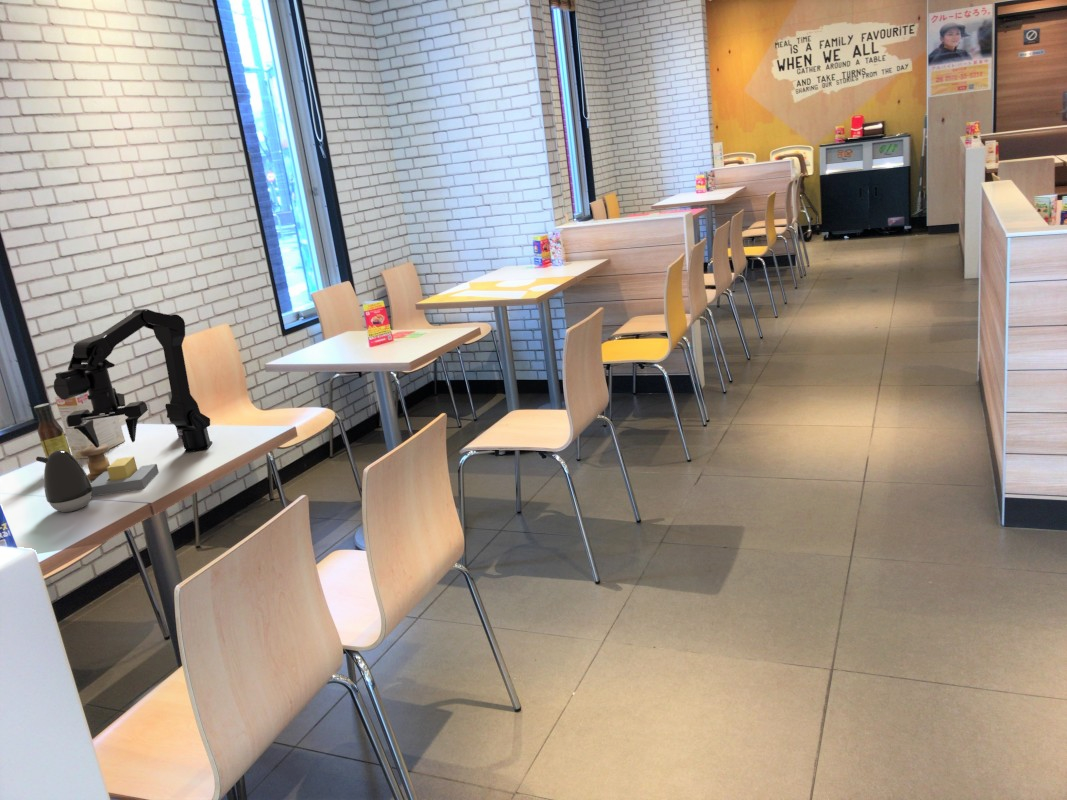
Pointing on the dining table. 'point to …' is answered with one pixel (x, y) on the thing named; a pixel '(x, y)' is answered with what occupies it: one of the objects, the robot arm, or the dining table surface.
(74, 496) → the pump dispenser
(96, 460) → the ball
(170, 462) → the dining table surface
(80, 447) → the coffeecake box
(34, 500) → the dining table surface
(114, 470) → the tab
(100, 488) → the gray u-shaped block
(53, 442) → the sauce bottle
